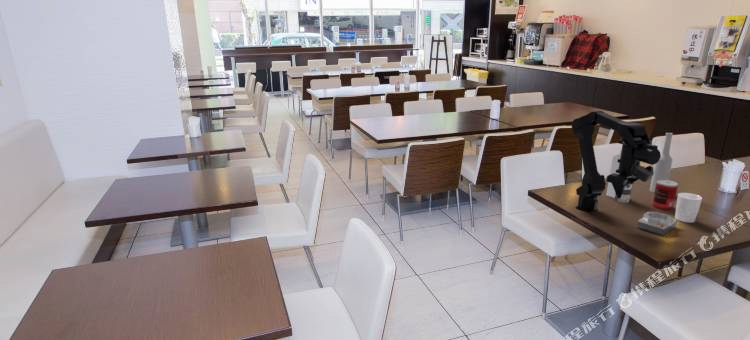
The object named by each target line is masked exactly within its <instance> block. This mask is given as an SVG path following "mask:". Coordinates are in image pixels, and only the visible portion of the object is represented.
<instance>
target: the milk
mask: <svg viewBox="0 0 750 340" xmlns="http://www.w3.org/2000/svg"><path fill="white" fill-rule="evenodd" d="M620 156H621V150H619V152H618V154H615V155H612V159H611V164H610V165H611V166H610V171H609V175H610V174H612V173H616V170H617V169H618V168H619V162H617V161H618V159H620ZM616 174H619V173H616ZM607 183H608V184H607V188H606V196H607V197H610V198H613V199H614V198H615V190H614V188H613V185H612V183H610V182H607Z"/></svg>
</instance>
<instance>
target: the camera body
mask: <svg viewBox="0 0 750 340" xmlns="http://www.w3.org/2000/svg"><path fill="white" fill-rule="evenodd" d="M677 222H678V220H677V219H676V218H673V217H672V216H671V215H669V214H667V213H662V212H658V211H647V212H645V213H643V216H642V217H641V218H639V219H638V220H637V226H636V228H638V229H641V230H643V231H644V230H645V231H648V232H650V233H653V234H658V235H661V236H664V235H666V234H667V233H670V231H672V230H673V229H675V228H676V226H677Z"/></svg>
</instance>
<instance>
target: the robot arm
mask: <svg viewBox="0 0 750 340" xmlns="http://www.w3.org/2000/svg"><path fill="white" fill-rule="evenodd" d="M597 125H602V126H604V127H606V128H608V129H611V130H612V131H615V132H616V133H617V135H618V136H619V137H620V138H621V139H620V140H618V141H617V144H620V145H621V146H622V147H621V150H620V151H621V156H620V159H618V161H617V162H619V168H618V169H617V170H616V173H619V174H616V173H612V174H610V173H609V174H608V175H607V176H605V175H604V174H600V173H599V171H598V165H597V161H596V155H595V148H594V143H593V135H594V133H595V127H596V126H597ZM571 129H572V133H573V135H574V136H575V137H576V139H578V143H579V148H580V154H581V160H582V166H583V167H582V168H583V172H584V173H583V177H582V178H581V186H579V187H577V188H576V189H575V192H576V195H578V202H577V206H575V208H576V209H578V210H581V211H585V212H588V213H592V212H594V211H596V210H598V208H599V207H598V204H599V199H598V197H600V196H602V194H603V192H604V191H605V190H606V185H607V183H608V182H610V183H612V185H613V188H614V190H615V193H616V196H617V198H621V196H622V193H623V190H624V187H625V186H626V185H628V184H629V183H627V182H630V183H632V186H633V185H634V183H635V182H637V181H638V180H640V181H641V182H643V183H646V182H648V181H650V180H651V179H652V176H653V175H654V174H653V173H654V172H653V171H654V167H653V166H655V164H656V163H657V162H658V161H659V159H660V157H661V155H660V154H661V152H660V149H658V147H659V146H658V145H655V144H651V139H650V137H649V135H648V133H647V130H646V126H645V125H644V124H642V123H636V122H631V121H630V122H629V121H625V120H622V119H620V118H618V117H615V116H614V115H611V114H608V113H606V112H604V111H603V110H592V111H590V112H589V113H587V114H585V115H582V116H579V117H578V118H574V119H573V120H572V122H571ZM641 163H645V164H647V166H642V165H641Z"/></svg>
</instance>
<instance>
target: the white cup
mask: <svg viewBox="0 0 750 340" xmlns="http://www.w3.org/2000/svg"><path fill="white" fill-rule="evenodd" d="M676 197H677V198H676V203H675V204H676V206H675V214H674V219H676V220H677V221H679V222H682V223H690V224H691V223H695V222H696V219H697V217H698V214H699V210H700V207H701V203H702V200H703V197H702V196H700V195H698V194H696V193H695V194H694V193H691V192H690V193H689V192H679V193H677V196H676Z"/></svg>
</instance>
